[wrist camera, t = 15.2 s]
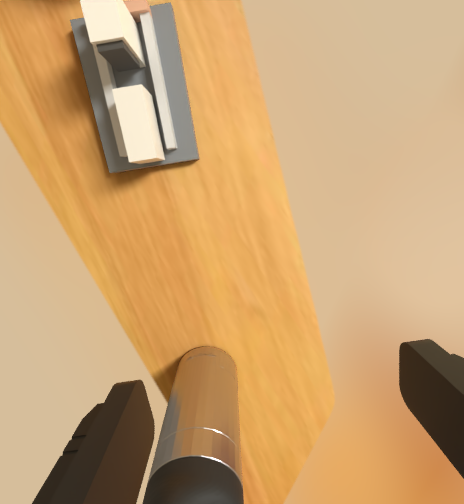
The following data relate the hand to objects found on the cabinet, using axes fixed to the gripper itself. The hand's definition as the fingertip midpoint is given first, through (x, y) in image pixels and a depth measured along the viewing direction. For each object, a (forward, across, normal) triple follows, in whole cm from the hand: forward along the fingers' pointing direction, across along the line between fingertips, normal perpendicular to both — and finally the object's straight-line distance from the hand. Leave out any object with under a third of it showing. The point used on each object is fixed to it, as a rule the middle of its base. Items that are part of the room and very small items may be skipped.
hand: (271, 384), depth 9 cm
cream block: (+26, +9, -9) cm, 29 cm away
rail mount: (+30, +9, -17) cm, 36 cm away
